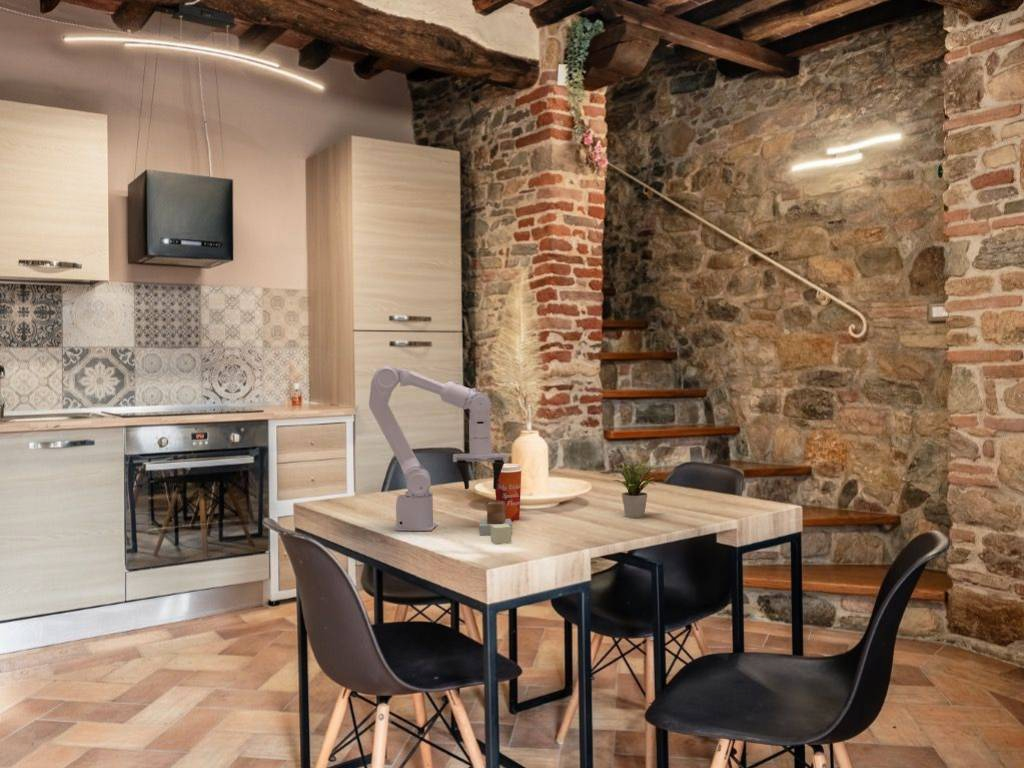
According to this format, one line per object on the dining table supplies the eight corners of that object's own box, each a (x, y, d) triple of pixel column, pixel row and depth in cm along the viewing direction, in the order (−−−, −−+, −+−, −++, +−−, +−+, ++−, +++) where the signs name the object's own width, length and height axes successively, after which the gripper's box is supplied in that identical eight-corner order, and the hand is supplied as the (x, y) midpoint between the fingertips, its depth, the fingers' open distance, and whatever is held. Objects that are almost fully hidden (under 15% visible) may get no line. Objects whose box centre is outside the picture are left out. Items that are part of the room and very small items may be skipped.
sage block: (495, 544, 197) (495, 528, 197) (490, 541, 201) (490, 525, 201) (511, 543, 198) (511, 526, 198) (506, 539, 202) (506, 523, 202)
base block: (480, 537, 207) (479, 525, 207) (480, 531, 215) (480, 519, 215) (511, 536, 207) (511, 524, 207) (510, 530, 215) (510, 518, 215)
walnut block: (487, 523, 209) (486, 504, 209) (490, 520, 213) (489, 501, 213) (502, 524, 209) (502, 504, 208) (505, 521, 212) (505, 501, 212)
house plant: (660, 522, 218) (659, 461, 218) (608, 521, 222) (607, 461, 221) (663, 512, 232) (662, 455, 232) (614, 511, 235) (613, 454, 235)
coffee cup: (498, 523, 223) (497, 467, 222) (490, 517, 230) (489, 464, 230) (527, 520, 225) (526, 466, 224) (519, 515, 233) (517, 462, 232)
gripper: (450, 439, 216) (451, 491, 216) (504, 439, 214) (505, 491, 214) (455, 436, 223) (456, 486, 223) (508, 436, 221) (509, 486, 221)
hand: (481, 488), depth 219 cm, fingers open, 7 cm apart
